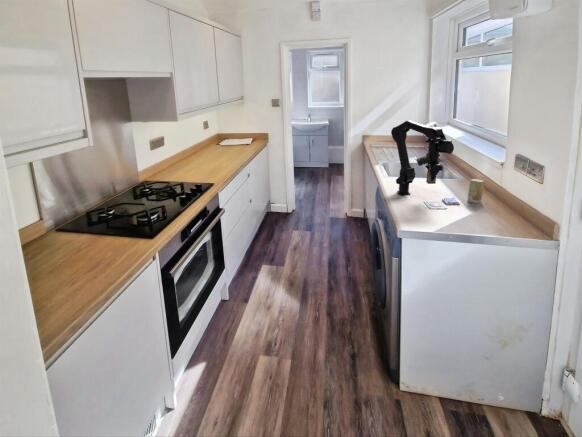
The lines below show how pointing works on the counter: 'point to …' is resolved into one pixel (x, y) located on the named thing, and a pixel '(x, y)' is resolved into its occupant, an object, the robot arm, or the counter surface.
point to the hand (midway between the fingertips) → (431, 180)
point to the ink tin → (450, 201)
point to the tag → (435, 205)
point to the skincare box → (475, 190)
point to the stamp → (430, 178)
